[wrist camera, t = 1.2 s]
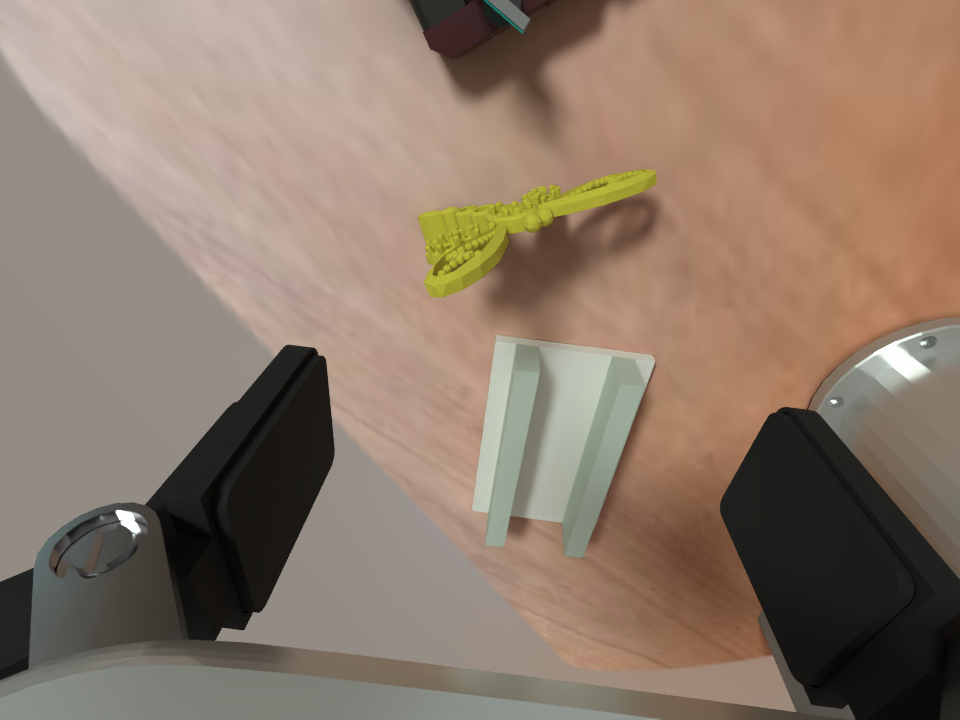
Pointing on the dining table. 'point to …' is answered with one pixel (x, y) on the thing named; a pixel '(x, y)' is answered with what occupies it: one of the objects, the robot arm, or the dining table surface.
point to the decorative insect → (508, 226)
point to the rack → (555, 434)
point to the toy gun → (471, 21)
